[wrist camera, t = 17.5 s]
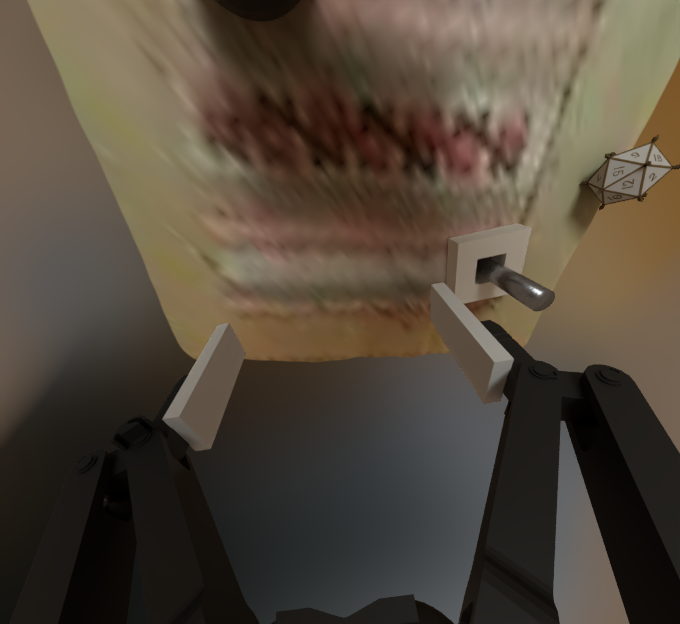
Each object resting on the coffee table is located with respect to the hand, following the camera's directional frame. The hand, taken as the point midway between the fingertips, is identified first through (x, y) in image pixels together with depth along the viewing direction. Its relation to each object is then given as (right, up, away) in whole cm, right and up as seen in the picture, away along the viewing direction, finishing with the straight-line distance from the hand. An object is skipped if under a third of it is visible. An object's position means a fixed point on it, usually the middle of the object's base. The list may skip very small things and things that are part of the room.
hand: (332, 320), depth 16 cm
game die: (+43, +23, +23) cm, 54 cm away
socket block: (+27, +10, +29) cm, 41 cm away
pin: (+26, +10, +29) cm, 41 cm away
